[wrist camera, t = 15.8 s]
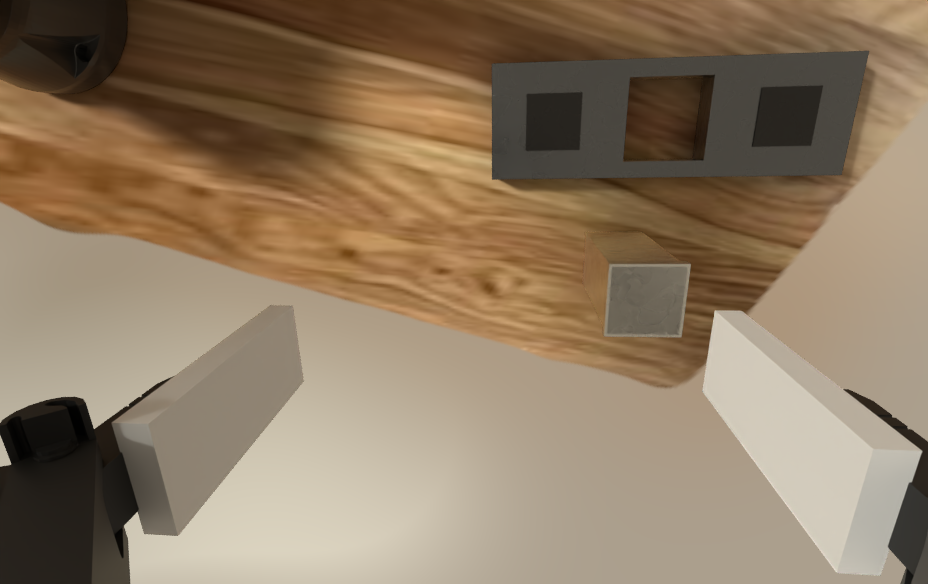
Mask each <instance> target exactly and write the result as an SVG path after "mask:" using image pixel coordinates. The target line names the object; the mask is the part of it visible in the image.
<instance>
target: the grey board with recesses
mask: <svg viewBox="0 0 928 584" xmlns="http://www.w3.org/2000/svg"><path fill="white" fill-rule="evenodd" d="M868 54H869V51H849V52H820V53H791V54H761V55H732V56H703V57H673V58H644V59H614V60H585V61H556V62H526V63H497V64H492V179H565V178H644V177H723V176H803V175H842V170H843V166H844V161H845V157H846V152H847V148H848V143H849V139H850V134H851V130H852V126H853V121H854V117H855V112H856V108H857V103H858V99H859V94H860V90H861V85H862V81H863V76H864V72H865V67H866V63H867V58H868ZM682 78H703V80H702V88H701V96H700V104H699V112H698V120H697V128H696V135H695V143H694V151H693V159H640V160H623V156H624V144H625V132H626V120H627V107H628V95H629V83H630V80H649V79H682Z"/></svg>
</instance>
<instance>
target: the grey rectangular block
mask: <svg viewBox="0 0 928 584" xmlns="http://www.w3.org/2000/svg"><path fill="white" fill-rule="evenodd" d="M690 268H691V264H690V263H689V262H688V261H679V260H678V259H677V258H675V257H674V256H673V255H671V254H670V253H669V252H668V251H666V250H665V249H664V248H662V247H661V246H660V245H658V244H657V243H656V242H654V241H653V240H652V239H651V238H649V237H648V236H647V235H645V234H644V233H643V232H641V231H618V232H585V248H584V266H583V285H584V288H585V290H586V292H587V294H588V296H589V298H590V300H591V302H592V304H593V306H594V308H595V310H596V312H597V314H598V317H599V319H600V321H601V323H602V333H603V336H608V337H682V330H683V322H684V314H685V307H686V299H687V291H688V284H689V276H690Z"/></svg>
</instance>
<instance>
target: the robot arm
mask: <svg viewBox="0 0 928 584" xmlns="http://www.w3.org/2000/svg"><path fill="white" fill-rule="evenodd" d="M126 33H127V10H126V2H125V0H0V79H1V80H3V81H5V82H8V83H10V84H12V85H15V86H18V87H20V88H24V89H28V90H32V91H37V92H46V93H58V94H73V93H79V92H83V91H86V90H89V89H91V88H93V87H95V86H96V85H98V84H100V83H101V82H102V81H103V80H104V79H106V78H107V77H108V75H109V74H110V73H111V72H112V71H113V69H114V68H115V66H116V65H117V63H118V61H119V59H120V56H121V54H122V51H123V48H124V44H125V40H126ZM302 383H303V373H302V366H301V359H300V352H299V345H298V338H297V331H296V324H295V317H294V310H293V306H273V305H270V306H269V307H267V308H266V309H265V310H263V311H262V312H261V313H259V314H258V315H257V316H255V317H254V318H253V319H251V320H250V321H249V322H247V323H246V324H244V325H243V326H242V327H240V328H239V329H238V330H236V331H235V332H234V333H232V334H231V335H230V336H228V337H227V338H226V339H224V340H223V341H221V342H220V343H219V344H218V345H216V346H215V347H213V348H212V349H211V350H209V351H208V352H207V353H206V354H204V355H202V356H201V357H200V358H198V359H197V360H196V361H194V362H193V363H192V364H190V365H189V366H188V367H187V368H185V369H184V370H182V371H181V372H179V373H178V374H177V375H175V376H173V377H171V378H169V379H166V380H164V381H162V382H160V383H158V384H156V385H155V386H153V387H152V388H151V389H149V390H148V391H146V392H145V393H144V394H142V397H138V398H137V399H135V400H134V401H133V402H131V403H130V404H129V407H127V406H126V407H124V408H123V409H122V410H120V411H119V412H118V413H116V414H115V415H113V416H112V417H111V418H109V419H108V420H106V421H105V422H104V423H102V424H101V425H100V426H98V427H97V428H95V429H94V428H93V425H92V422H91V419H90V415H89V413H88V409H87V406H86V403H85V402H84V400H83V399H81V398H77V397H61V398H55V399H50V400H46V401H43V402H39V403H36V404H33V405H30V406H27V407H25V408H23V409H21V410H18V411H16V412H14V413H13V414H11V415H9V416H8V417H6V418H5V419H3V420H2V422H1V423H0V435H1V438H2V440H3V443H4V446H5V448H6V451H7V453H8V456H9V458H10V461H11V465H9V466H2V467H0V584H130V570H129V551H128V538H127V535H126V532H125V529H124V525H125V524H126V523H127V522H128V521H129V520H130V519H131V518H132V517H133V515H135V513H136V512H137V511H138V514H139V518H140V521H141V525H142V528H143V531H144V534H155V535H172V536H173V535H174V536H178V535H179V534H180V533H181V532H182V530H183V529H184V528H185V526H186V525H187V524H188V523H189V522H190V520H191V519H192V518H193V517H194V516H195V514H196V513H197V512H198V511H199V509H200V508H201V507H202V506H203V505H204V503H205V502H206V501H207V500H208V498H209V497H210V496H211V495H212V493H213V492H214V491H215V490H216V489H217V487H218V486H219V485H220V483H221V482H222V481H223V480H224V479H225V477H226V476H227V475H228V474H229V473H230V471H231V470H232V469H233V468H234V466H235V465H236V464H237V462H238V461H239V460H240V459H241V458H242V457H243V455H244V454H245V453H246V451H247V450H248V449H249V448H250V447H251V445H252V444H253V443H254V442H255V441H256V439H257V438H258V437H259V436H260V434H261V433H262V432H263V431H264V429H265V428H266V427H267V426H268V425H269V423H270V422H271V421H272V420H273V418H274V417H275V416H276V415H277V413H278V412H279V411H280V410H281V409H282V407H283V406H284V405H285V404H286V402H287V401H288V400H289V399H290V397H291V396H292V395H293V394H294V393H295V391H296V390H297V389H298V388H299V386H300V385H301V384H302ZM702 392H703V393H704V394H705V396H706V397H707V399H708V400H709V401H710V403H711V404H712V405H713V407H714V408H715V409H716V411H717V412H718V413H719V415H720V416H721V417H722V419H723V420H724V421H725V423H726V424H727V426H728V427H729V428H730V430H731V431H732V432H733V434H734V435H735V436H736V438H737V439H738V440H739V442H740V443H741V444H742V446H743V447H744V449H745V450H746V451H747V453H748V454H749V455H750V457H751V458H752V459H753V461H755V463H756V465H757V466H758V467H759V469H760V470H761V471H762V473H763V474H764V476H765V477H766V478H767V480H768V481H769V482H770V484H771V485H772V486H773V488H774V489H775V490H776V492H777V493H778V494H779V496H780V497H781V498H782V500H783V501H784V503H785V504H786V505H787V507H788V508H789V509H790V510H791V512H792V513H793V515H794V516H795V517H796V519H797V520H798V521H799V523H800V524H801V525H802V527H803V528H804V530H805V531H806V532H807V533H808V535H809V536H810V538H811V539H812V540H813V542H814V543H815V544H816V546H817V547H818V548H819V550H820V551H821V552H822V554H823V555H824V557H825V558H826V559H827V561H828V562H829V563H830V565H831V566H832V567H833V569H834V570H835V571H836V573H846V574H862V575H881V572H882V569H883V567H884V563H885V560H886V557H887V555H888V552H889V549H890V550H891V551H892V552H893V553H894V554H895V556H896V557H897V558H898V559H899V560H900V561H901V562H902V563H903V564H904V566H905V567H906V570H905V573H904V575H903V579H902V581H901V584H928V442H927V441H926V440H925V439H923V438H922V437H921V436H919V435H918V434H917V433H915V432H914V431H913V430H910V429H908V428H907V426H906V425H905V424H903V423H902V422H901V421H899V420H898V419H897V418H892V415H891V414H890V413H889V412H887V411H886V410H884V409H883V408H882V407H880V406H879V405H878V404H876V403H875V402H874V401H872V400H870V399H868V398H865V397H863V396H861V395H859V394H857V393H855V392H853V391H851V390H848V389H847V390H846V389H842V388H841V387H839V386H838V385H837V384H835V383H834V382H833V381H832V380H830V379H829V378H828V377H826V376H825V375H824V374H822V373H821V372H820V371H818V370H817V369H816V368H815V367H813V366H812V365H811V364H810V363H808V362H807V361H806V360H804V359H803V358H801V356H799V355H798V354H796V353H795V352H794V351H793V350H792V349H790V348H789V347H788V346H786V345H785V344H784V343H783V342H781V341H780V340H779V339H777V338H776V337H775V336H774V335H772V334H771V333H770V332H768V331H767V330H766V329H765V328H763V327H762V326H761V325H759V324H758V323H757V322H755V321H754V320H753V319H752V318H750V317H749V316H748V315H746V314H745V313H744V312H743V311H725V310H715V313H714V319H713V325H712V332H711V338H710V345H709V351H708V358H707V364H706V371H705V377H704V383H703V390H702Z"/></svg>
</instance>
